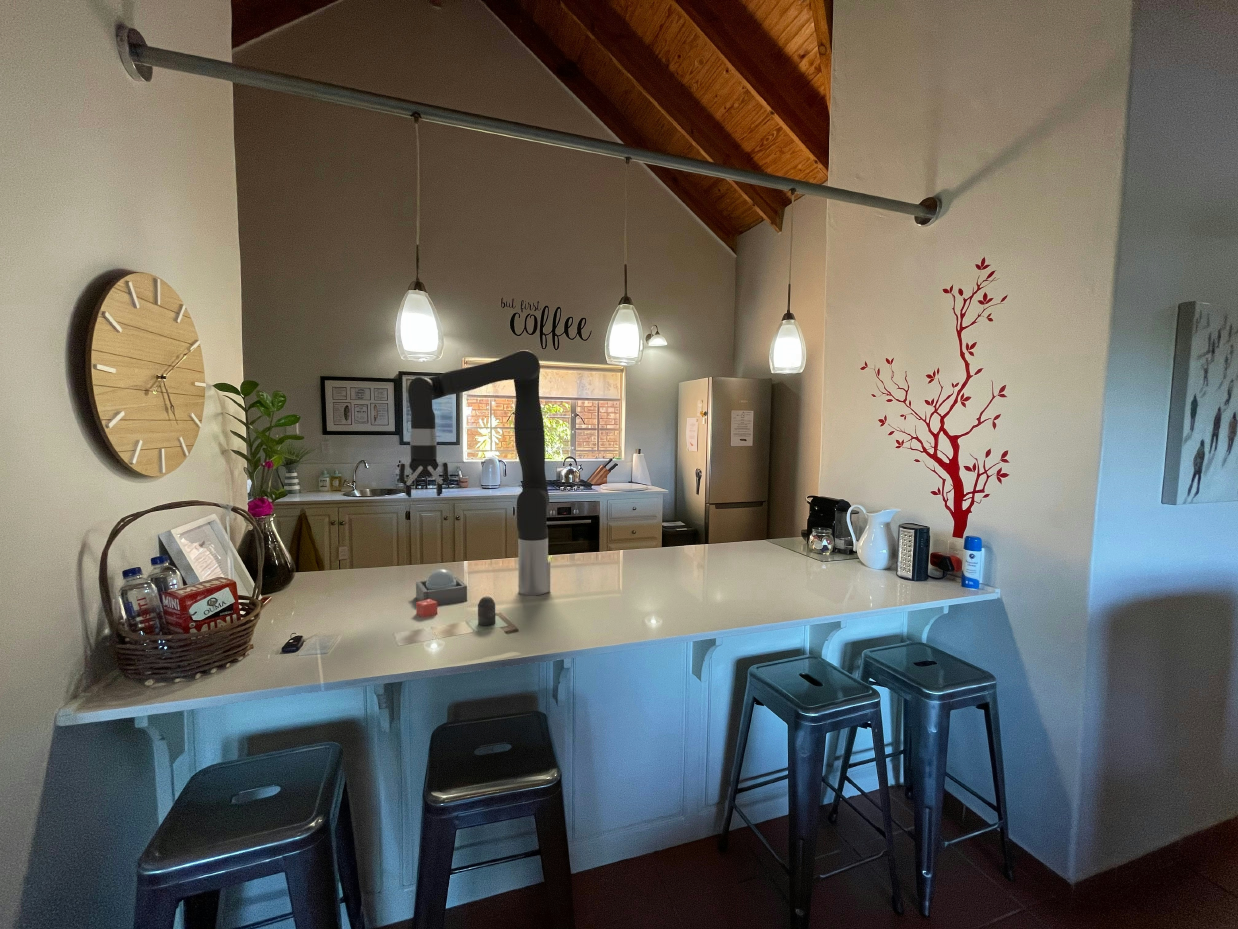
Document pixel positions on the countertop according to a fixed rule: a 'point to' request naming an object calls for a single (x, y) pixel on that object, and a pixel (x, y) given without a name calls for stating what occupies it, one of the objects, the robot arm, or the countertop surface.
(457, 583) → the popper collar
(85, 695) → the countertop surface
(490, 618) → the dark grey capsule
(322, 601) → the countertop surface
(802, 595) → the countertop surface
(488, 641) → the countertop surface
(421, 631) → the game board
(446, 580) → the dome
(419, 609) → the red die
